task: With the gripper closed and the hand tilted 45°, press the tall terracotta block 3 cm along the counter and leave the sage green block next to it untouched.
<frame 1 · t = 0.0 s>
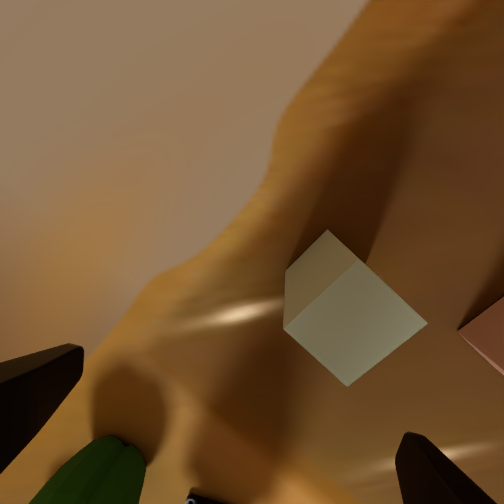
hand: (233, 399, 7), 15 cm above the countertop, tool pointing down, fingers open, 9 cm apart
bell pepper: (120, 454, 28), on the countertop
sage block: (334, 289, 16), point 5 cm above the countertop, slide at 0.0 cm
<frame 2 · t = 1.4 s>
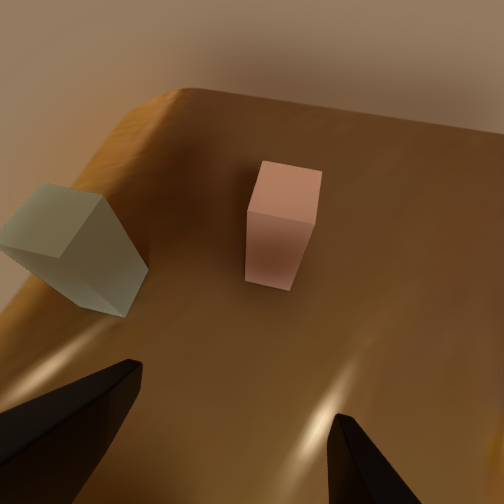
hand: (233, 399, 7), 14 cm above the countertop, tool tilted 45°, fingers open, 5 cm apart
terracotta block: (277, 234, 21), point 5 cm above the countertop, slide at 0.0 cm
sage block: (89, 259, 19), point 5 cm above the countertop, slide at 0.0 cm
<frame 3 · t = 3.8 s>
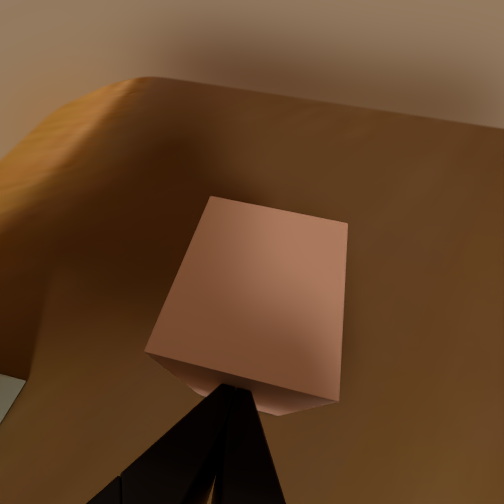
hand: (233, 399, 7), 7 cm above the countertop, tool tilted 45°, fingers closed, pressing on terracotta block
terracotta block: (252, 333, 11), point 5 cm above the countertop, slide at 0.4 cm, touching gripper
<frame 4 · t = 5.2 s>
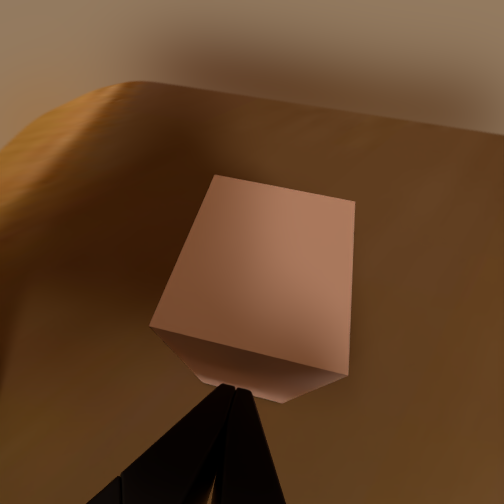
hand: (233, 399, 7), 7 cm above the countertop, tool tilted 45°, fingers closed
terracotta block: (256, 318, 11), point 5 cm above the countertop, slide at 3.3 cm
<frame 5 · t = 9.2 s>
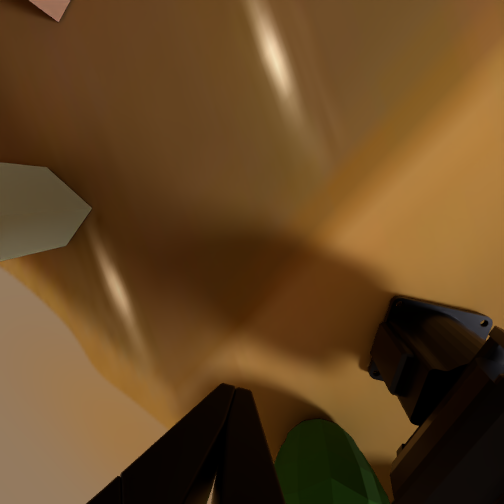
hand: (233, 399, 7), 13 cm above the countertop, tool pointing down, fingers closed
bell pepper: (317, 444, 23), on the countertop
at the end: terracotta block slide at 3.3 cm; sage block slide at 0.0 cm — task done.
